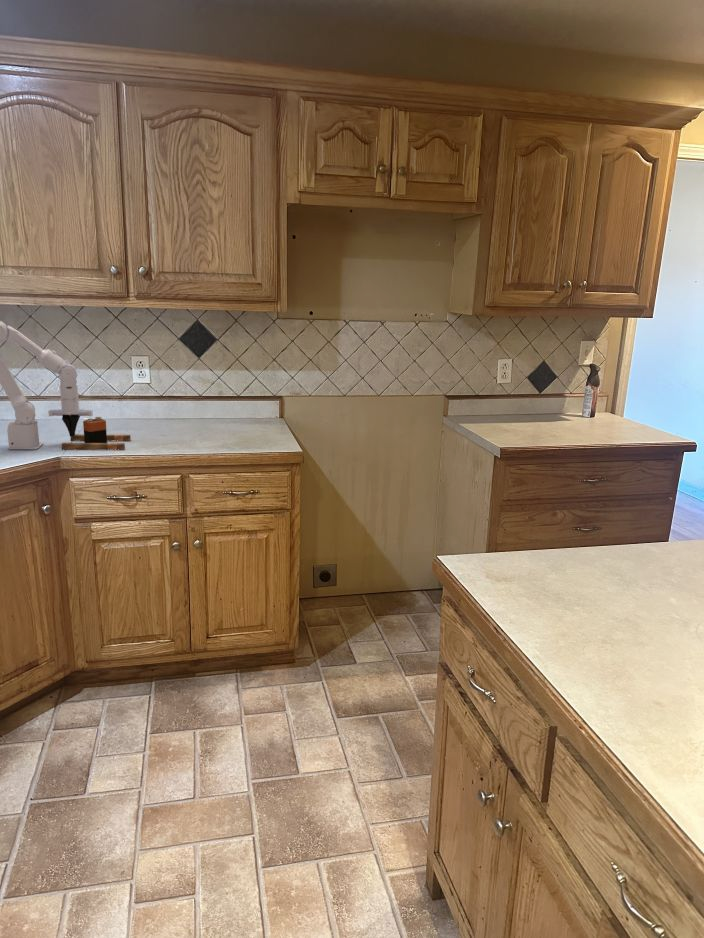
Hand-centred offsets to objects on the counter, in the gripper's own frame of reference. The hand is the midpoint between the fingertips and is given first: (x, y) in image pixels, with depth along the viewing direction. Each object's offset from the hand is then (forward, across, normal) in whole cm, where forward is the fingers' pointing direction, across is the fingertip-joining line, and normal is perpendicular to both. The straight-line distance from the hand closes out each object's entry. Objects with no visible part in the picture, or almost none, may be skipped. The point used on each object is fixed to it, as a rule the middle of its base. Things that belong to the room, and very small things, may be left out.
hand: (72, 435), depth 244 cm
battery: (+4, +8, 0) cm, 9 cm away
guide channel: (+3, +8, 0) cm, 9 cm away
